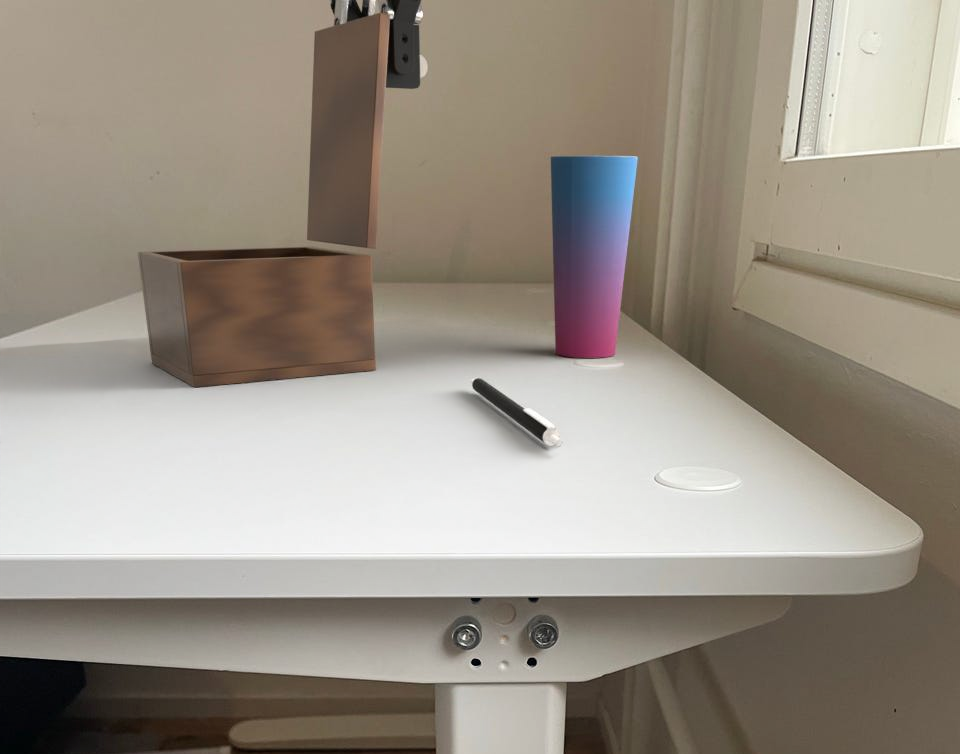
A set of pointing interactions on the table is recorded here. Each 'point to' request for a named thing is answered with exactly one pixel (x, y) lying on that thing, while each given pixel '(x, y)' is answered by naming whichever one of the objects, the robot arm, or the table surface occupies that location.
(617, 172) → the cup
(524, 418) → the pen
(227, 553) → the table surface
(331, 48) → the lid
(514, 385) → the table surface
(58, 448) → the table surface
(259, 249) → the chest
